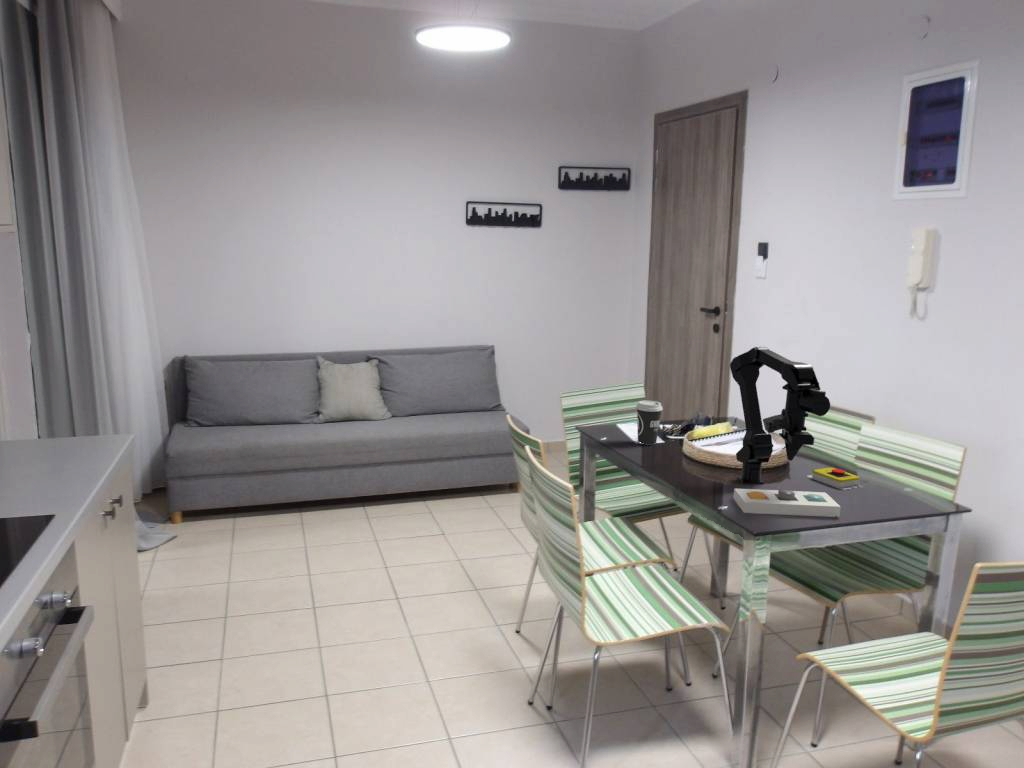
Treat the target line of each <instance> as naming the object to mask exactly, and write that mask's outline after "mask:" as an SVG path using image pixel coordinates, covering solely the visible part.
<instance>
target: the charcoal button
mask: <svg viewBox="0 0 1024 768" xmlns="http://www.w3.org/2000/svg"><path fill="white" fill-rule="evenodd" d="M793 491H794V490H788V489H779V491H778V499H779V500H788V501H794V497H795V493H794V492H793Z"/></svg>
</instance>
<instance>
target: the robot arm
mask: <svg viewBox="0 0 1024 768" xmlns="http://www.w3.org/2000/svg"><path fill="white" fill-rule="evenodd" d="M763 366H766V367H768V368H770V369H772V370H773V371H775V372H777V373H779V374H780V376H781V379H782V380H784V381H785V382H786V384H784V385H783V386H782V390H786V396H785V397H786V398H785V399H786V400H785V405H784V406H785V407H784V408H782V409H781V413H780V414H777V415H772V416H768V417H764V418H763V419H762V414H761V408H760V401H759V395H758V389H757V381H758V379H759V377H760V369H761V368H762V367H763ZM729 368H730V369H729V370H730V372H731V375H732V378H733V380H734V381H735V382H736V384H737V385H738V387H739V391H740V397H741V399H740V400H741V405H742V410H743V412H742V413H743V417H744V425H745V434H744V437H742V438H743V439H742V447H741V448H740V449H739V450H738V451H737V452H736V454H735V458H736V461H738V462H739V463H742V464H741V465H742V467H741V468H742V469H741V475H738V476H737V477H738V479H739V480H740V481H741V482H742V483H743V484H761V485H762V484H763V485H764V483H765V482H764V480H763V479H762V478H761V477H762V475H761V474H762V468H763V467H762V465H763V463H767V464H768V463H769V461H770V459H771V456H772V454H773V451H774V450H773V447H774V444H773V440H772V437H773V436H772V435H771V434H772V433H774V432H776V431H780V430H781V433H780V432H779V433H778V435H779V436H780V437H781V438H782V440H784V441H783V442H784V446H785V450H786V451H785V452H786V457H787V460H788V461H793V460H794V458H795V457H796V455H797V454H798V452H799V451H800V449H801V448H802V447H803V446H804V445H805V446H807V445H808V446H814V444H815V437H814V436H813V435H812V434H811V433H810V432H809V431H807V428H808V427H807V426H805V425H806V418H808V417H809V413H810V414H812V415H814V416H818V417H822V416H825V415H826V414H827V413H828V412H829V411H830V408H831V402H830V399H829V398H828V397H827V396H826V391H824V390H821V387H820V383H819V379H818V377H817V375H816V372H815V369H814V367H813V366H812V365H811V364H809V363H805V362H802V361H801V362H799V361H793V360H790V359H788V358H786V357H784V356H783V355H780V354H779V353H776V352H774V351H773V350H771V349H770V348H768V347H766V346H754V347H753V348H751V349H749V350H748V351H746V352H743V353H741V354H739V355H738V356H735V357H733V358H732V360H731V362H730V363H729ZM763 426H764V427H763Z"/></svg>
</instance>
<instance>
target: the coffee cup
mask: <svg viewBox="0 0 1024 768" xmlns="http://www.w3.org/2000/svg"><path fill="white" fill-rule="evenodd" d="M635 409H636V412H637V413H636V416H637V417H636V418H637V419H636V420H637V424H636V425H637V442H638V441H639V442H641V443H644V444H654V443H656V444H657V439H658V433H659V428H660V427H659V426H660V421H661V416H662V415H661V414H662V411H663V410H664V409H663V406H662V403H661V402H659V401H655V400H640V401H638V403H637V404H636V405H635Z"/></svg>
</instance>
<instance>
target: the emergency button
mask: <svg viewBox="0 0 1024 768" xmlns="http://www.w3.org/2000/svg"><path fill="white" fill-rule="evenodd" d="M806 477H807V478H808V479H812V480H814V481H817V482H820V483H822V484H825V485H827V486H831V487H833V488H836V489H838V490H841V489H843V490H842V491H848V490H847V489H849V490H852V489H851V488H850V487H852V486H855V487H854V488H855V489H858V488H857V487H856V486H858V485H859V486H860V485H861V484H860V476H858V475H855V474H853V473H849V472H847V471H845V470H843V469H839V468H835V467H826V468H818V469H813V470H812V474H811V475H809V474H808V475H806ZM860 487H861V486H860ZM861 488H864V486H863V485H862V487H861Z"/></svg>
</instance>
